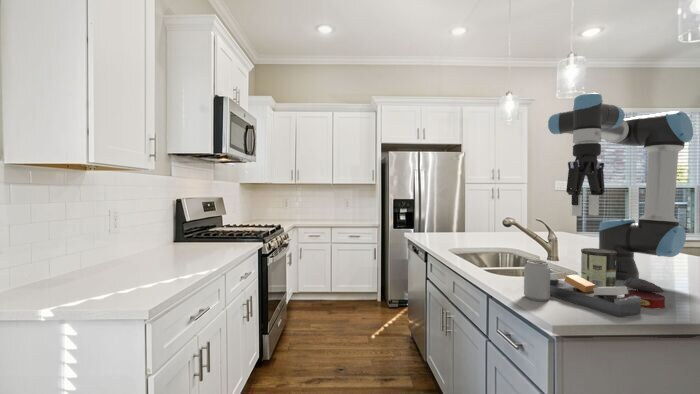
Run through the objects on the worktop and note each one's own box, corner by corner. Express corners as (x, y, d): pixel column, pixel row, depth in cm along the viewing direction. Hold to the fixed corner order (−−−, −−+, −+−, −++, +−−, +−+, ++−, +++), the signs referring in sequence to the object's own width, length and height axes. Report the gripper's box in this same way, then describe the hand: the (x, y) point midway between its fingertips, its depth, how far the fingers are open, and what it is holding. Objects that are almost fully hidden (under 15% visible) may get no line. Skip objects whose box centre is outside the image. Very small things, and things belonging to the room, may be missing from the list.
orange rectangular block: (564, 281, 118) (565, 275, 118) (573, 280, 120) (575, 274, 119) (584, 292, 112) (586, 286, 111) (593, 291, 114) (595, 285, 113)
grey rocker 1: (540, 280, 127) (539, 274, 127) (549, 279, 128) (548, 273, 129) (557, 279, 120) (556, 273, 121) (567, 278, 122) (565, 272, 122)
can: (552, 298, 118) (553, 261, 117) (545, 303, 112) (546, 264, 112) (528, 293, 123) (529, 258, 123) (520, 298, 118) (521, 261, 117)
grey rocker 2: (594, 295, 109) (592, 288, 109) (604, 293, 111) (602, 286, 111) (618, 295, 103) (616, 287, 103) (628, 293, 104) (626, 286, 105)
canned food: (622, 315, 115) (609, 284, 120) (653, 311, 116) (638, 280, 120) (648, 309, 105) (633, 275, 110) (681, 305, 106) (665, 272, 110)
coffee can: (606, 287, 131) (607, 248, 131) (621, 295, 121) (622, 253, 121) (575, 285, 133) (576, 247, 133) (587, 293, 123) (588, 252, 123)
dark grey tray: (529, 289, 128) (529, 276, 128) (548, 286, 131) (548, 273, 131) (619, 317, 100) (620, 300, 100) (640, 313, 103) (640, 297, 103)
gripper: (576, 140, 108) (574, 217, 109) (619, 144, 115) (618, 215, 116) (553, 143, 115) (552, 215, 116) (596, 146, 122) (594, 214, 123)
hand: (585, 215), depth 116 cm, fingers open, 7 cm apart
